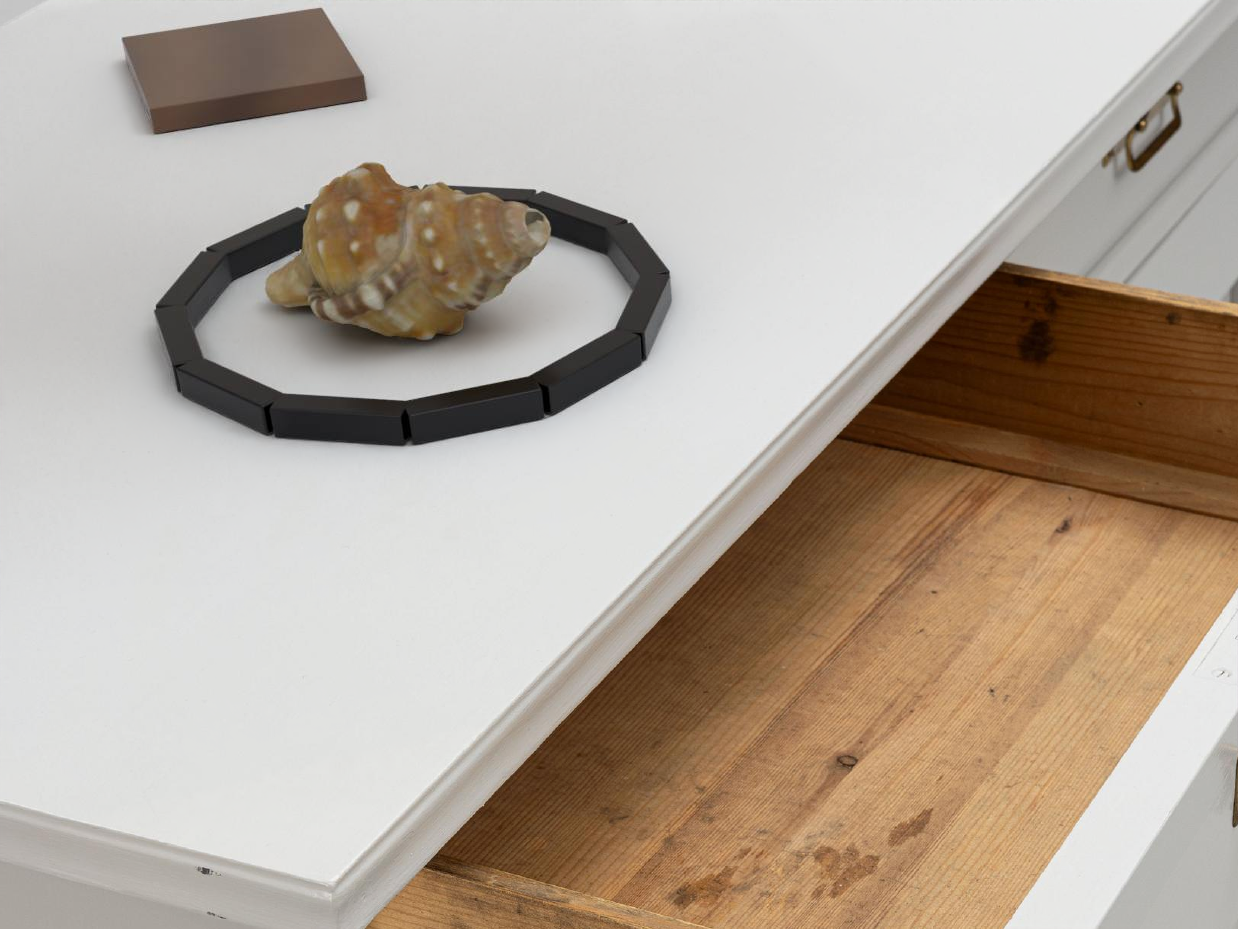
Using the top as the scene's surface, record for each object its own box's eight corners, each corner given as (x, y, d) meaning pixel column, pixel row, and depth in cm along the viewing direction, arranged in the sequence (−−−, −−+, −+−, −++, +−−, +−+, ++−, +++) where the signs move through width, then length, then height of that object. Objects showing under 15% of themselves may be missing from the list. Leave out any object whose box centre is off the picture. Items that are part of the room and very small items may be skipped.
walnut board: (154, 134, 101) (149, 108, 101) (126, 61, 109) (121, 37, 108) (367, 99, 104) (364, 74, 103) (325, 30, 111) (322, 6, 111)
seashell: (502, 333, 92) (586, 153, 84) (448, 459, 86) (533, 279, 79) (295, 234, 90) (362, 41, 82) (226, 356, 84) (291, 161, 77)
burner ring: (209, 487, 76) (202, 457, 76) (134, 261, 91) (128, 234, 90) (733, 380, 81) (732, 351, 81) (583, 181, 96) (581, 155, 95)
